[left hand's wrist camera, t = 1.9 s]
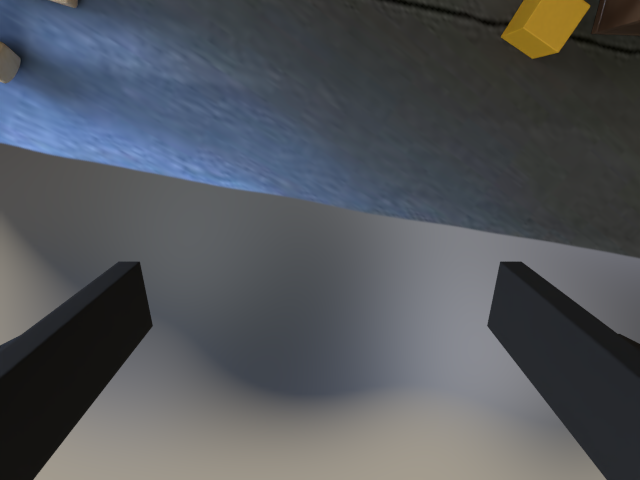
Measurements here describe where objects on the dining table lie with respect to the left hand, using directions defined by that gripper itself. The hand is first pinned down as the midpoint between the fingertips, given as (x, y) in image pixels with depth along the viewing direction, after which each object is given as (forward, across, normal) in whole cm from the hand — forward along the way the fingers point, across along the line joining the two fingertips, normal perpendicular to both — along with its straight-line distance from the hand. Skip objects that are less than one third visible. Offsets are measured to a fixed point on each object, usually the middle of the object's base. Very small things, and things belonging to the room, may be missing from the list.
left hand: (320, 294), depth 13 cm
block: (+28, +21, +14) cm, 38 cm away
